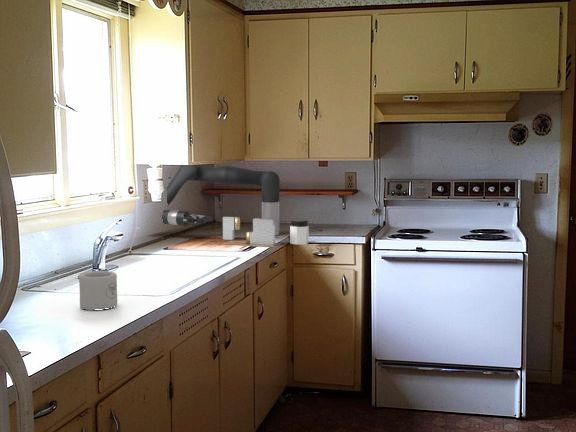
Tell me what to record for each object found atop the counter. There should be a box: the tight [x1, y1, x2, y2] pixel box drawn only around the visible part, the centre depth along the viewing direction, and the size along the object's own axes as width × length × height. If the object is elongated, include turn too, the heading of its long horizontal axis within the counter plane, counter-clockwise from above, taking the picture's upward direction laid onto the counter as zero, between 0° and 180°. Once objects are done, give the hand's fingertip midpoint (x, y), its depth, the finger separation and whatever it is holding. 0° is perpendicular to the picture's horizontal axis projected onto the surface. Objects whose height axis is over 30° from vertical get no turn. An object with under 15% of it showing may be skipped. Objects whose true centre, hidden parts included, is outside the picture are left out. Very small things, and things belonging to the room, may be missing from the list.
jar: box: [289, 218, 310, 245], centre depth 325 cm, size 9×8×12 cm
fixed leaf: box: [245, 217, 276, 246], centre depth 319 cm, size 3×14×12 cm, turn 70°
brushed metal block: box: [222, 216, 241, 241], centre depth 336 cm, size 8×3×12 cm, turn 71°
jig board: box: [220, 240, 281, 248], centre depth 322 cm, size 12×26×1 cm, turn 71°
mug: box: [78, 270, 118, 311], centre depth 206 cm, size 14×11×10 cm
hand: (208, 219), depth 340 cm, fingers open, 8 cm apart
